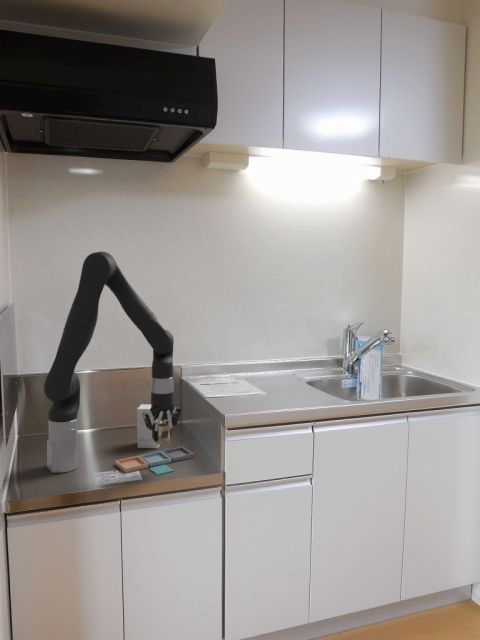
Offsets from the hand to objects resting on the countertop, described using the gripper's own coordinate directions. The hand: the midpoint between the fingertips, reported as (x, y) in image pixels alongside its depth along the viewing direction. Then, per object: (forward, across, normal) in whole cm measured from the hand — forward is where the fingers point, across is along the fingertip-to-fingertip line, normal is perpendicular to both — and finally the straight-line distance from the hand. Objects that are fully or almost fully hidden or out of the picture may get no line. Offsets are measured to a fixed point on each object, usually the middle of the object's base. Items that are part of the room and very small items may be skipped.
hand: (161, 439), depth 176 cm
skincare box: (+11, +7, +24) cm, 27 cm away
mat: (+11, 0, 0) cm, 11 cm away
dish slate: (+11, +2, +9) cm, 14 cm away
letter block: (+1, 0, 0) cm, 1 cm away
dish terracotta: (+11, -7, +9) cm, 16 cm away
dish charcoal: (+11, +11, +9) cm, 18 cm away
